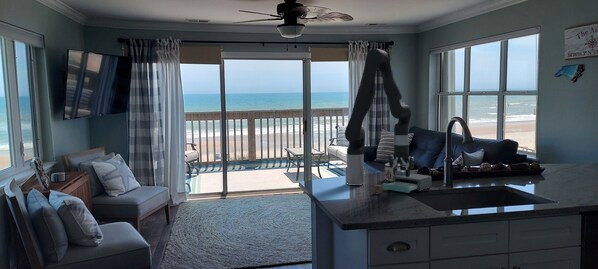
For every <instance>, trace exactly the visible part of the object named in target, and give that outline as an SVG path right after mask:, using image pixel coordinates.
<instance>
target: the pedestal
mask: <svg viewBox="0 0 598 269" xmlns="http://www.w3.org/2000/svg"><path fill="white" fill-rule="evenodd" d="M373 191H374V192H373V194H374V193H378V194H380V195H382V194H383V184H375V185H374V186H373ZM381 193H382V194H381Z"/></svg>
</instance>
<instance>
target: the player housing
mask: <svg viewBox="0 0 598 269" xmlns="http://www.w3.org/2000/svg"><path fill="white" fill-rule="evenodd" d="M393 182H404V183H411V184H418V188H417V189H414V190H413V191H416V190H419V191H418V192H422V191H424V190H423V189H425V190H428V189H430V187H431V188H433V187H432V175H425V174H418V173H417V174H416V173H411V172H410V176H409V177H406V176H397V175H396V176H393V181H392V183H393ZM427 188H428V189H427ZM421 190H422V191H421Z"/></svg>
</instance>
